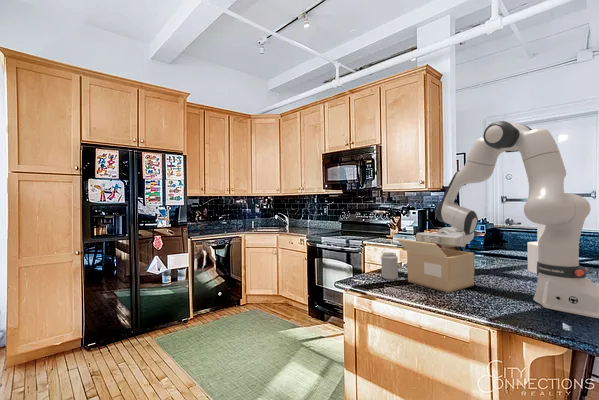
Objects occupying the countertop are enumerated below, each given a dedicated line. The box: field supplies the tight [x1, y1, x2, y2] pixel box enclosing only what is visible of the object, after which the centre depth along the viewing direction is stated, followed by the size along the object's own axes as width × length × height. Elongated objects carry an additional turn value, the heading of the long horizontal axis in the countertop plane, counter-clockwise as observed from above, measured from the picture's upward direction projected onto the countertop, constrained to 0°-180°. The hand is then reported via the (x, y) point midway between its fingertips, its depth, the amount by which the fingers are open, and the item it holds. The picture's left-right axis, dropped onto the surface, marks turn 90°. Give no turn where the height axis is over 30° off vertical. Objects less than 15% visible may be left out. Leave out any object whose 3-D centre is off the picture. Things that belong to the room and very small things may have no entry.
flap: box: [396, 238, 447, 257], centre depth 132 cm, size 19×9×1 cm
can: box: [380, 252, 399, 281], centre depth 149 cm, size 8×8×12 cm
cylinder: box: [526, 223, 546, 274], centre depth 154 cm, size 17×17×28 cm
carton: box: [406, 247, 475, 293], centre depth 138 cm, size 21×19×14 cm
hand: (427, 240), depth 134 cm, fingers closed
